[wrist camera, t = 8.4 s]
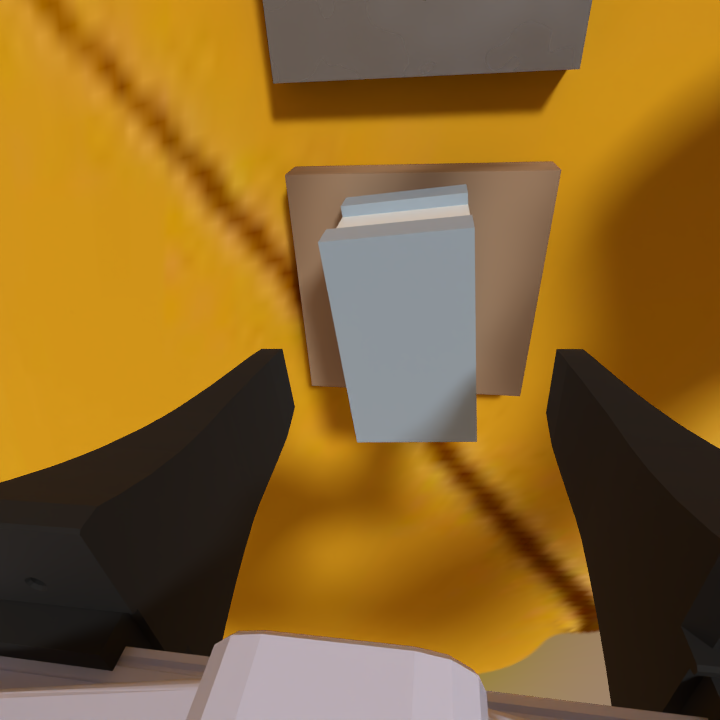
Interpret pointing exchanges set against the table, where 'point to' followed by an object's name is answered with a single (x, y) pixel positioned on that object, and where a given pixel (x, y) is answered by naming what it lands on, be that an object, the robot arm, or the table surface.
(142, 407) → the table surface
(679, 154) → the table surface
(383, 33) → the stand
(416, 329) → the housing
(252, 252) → the table surface
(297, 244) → the stand
